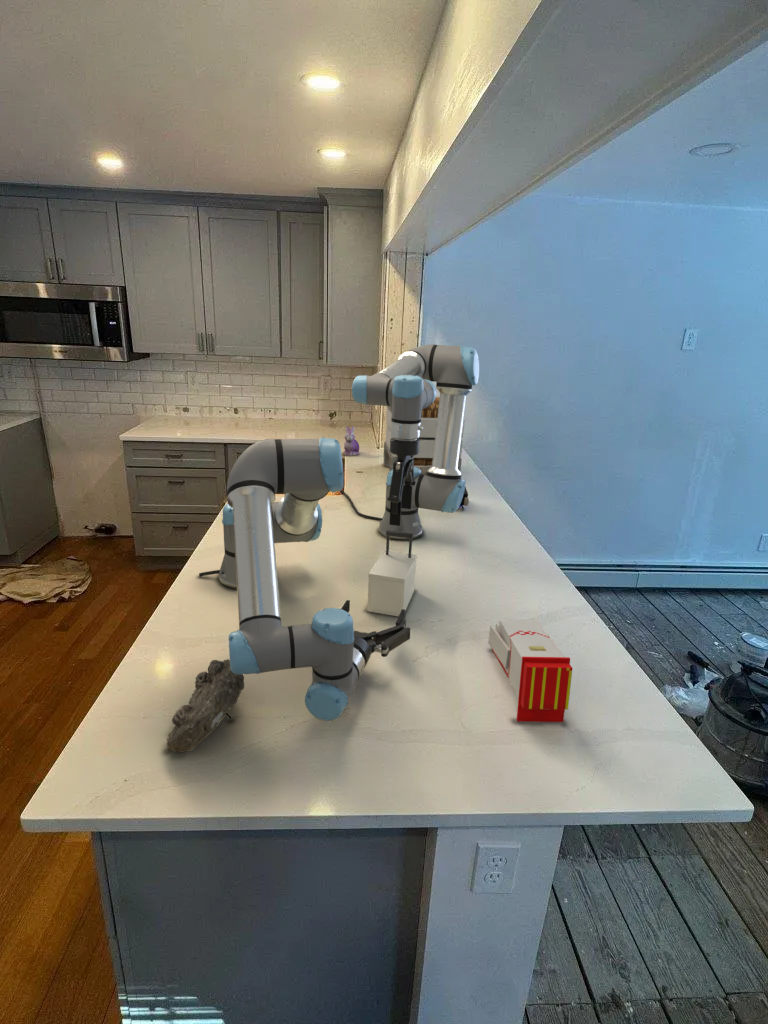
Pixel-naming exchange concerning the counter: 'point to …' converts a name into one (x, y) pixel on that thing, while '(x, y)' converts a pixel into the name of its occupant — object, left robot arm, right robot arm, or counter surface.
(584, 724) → the counter surface
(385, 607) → the chest
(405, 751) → the counter surface
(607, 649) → the counter surface
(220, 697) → the fossil
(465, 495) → the figurine character
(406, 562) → the lid
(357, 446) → the figurine
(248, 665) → the left robot arm
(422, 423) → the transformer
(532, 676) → the toy
